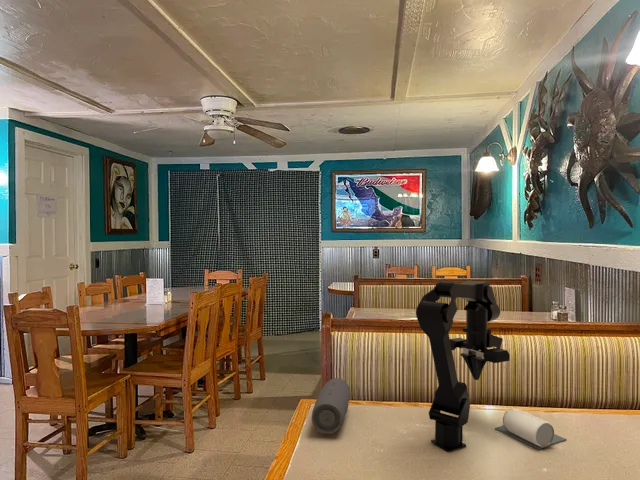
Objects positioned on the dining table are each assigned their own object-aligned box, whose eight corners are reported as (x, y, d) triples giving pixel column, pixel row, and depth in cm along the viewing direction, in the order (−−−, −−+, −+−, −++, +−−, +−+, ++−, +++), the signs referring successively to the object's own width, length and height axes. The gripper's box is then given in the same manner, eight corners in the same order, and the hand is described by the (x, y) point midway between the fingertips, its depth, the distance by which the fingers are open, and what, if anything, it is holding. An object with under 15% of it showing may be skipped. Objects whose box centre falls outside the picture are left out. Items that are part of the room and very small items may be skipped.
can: (553, 418, 121) (518, 404, 132) (534, 426, 118) (499, 410, 130) (556, 443, 121) (521, 426, 132) (537, 451, 119) (503, 433, 130)
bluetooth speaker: (344, 440, 125) (344, 402, 125) (309, 437, 127) (309, 400, 126) (352, 408, 148) (352, 376, 147) (322, 407, 149) (322, 375, 149)
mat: (538, 449, 120) (538, 447, 120) (494, 429, 132) (494, 427, 132) (566, 440, 125) (566, 439, 125) (521, 421, 137) (521, 420, 137)
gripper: (523, 328, 130) (523, 384, 130) (472, 317, 147) (472, 367, 147) (495, 332, 125) (494, 391, 125) (445, 320, 141) (445, 372, 142)
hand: (476, 379), depth 135 cm, fingers closed
